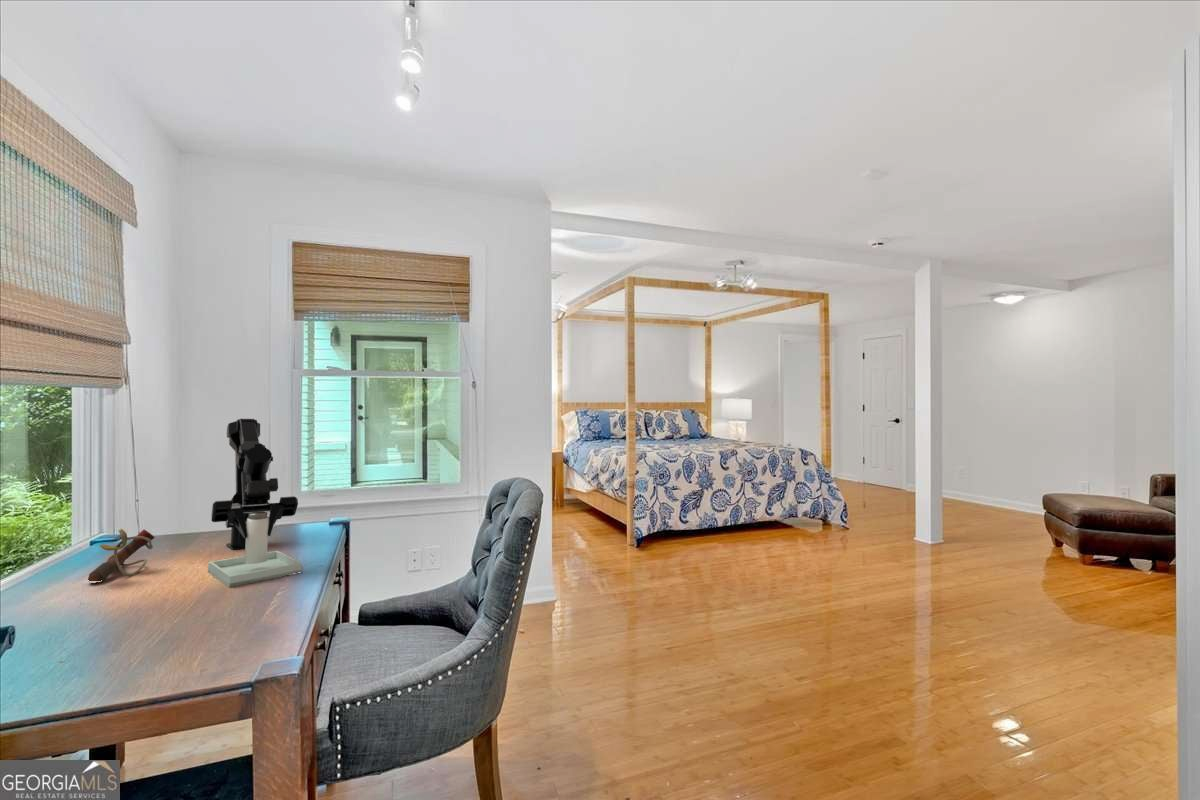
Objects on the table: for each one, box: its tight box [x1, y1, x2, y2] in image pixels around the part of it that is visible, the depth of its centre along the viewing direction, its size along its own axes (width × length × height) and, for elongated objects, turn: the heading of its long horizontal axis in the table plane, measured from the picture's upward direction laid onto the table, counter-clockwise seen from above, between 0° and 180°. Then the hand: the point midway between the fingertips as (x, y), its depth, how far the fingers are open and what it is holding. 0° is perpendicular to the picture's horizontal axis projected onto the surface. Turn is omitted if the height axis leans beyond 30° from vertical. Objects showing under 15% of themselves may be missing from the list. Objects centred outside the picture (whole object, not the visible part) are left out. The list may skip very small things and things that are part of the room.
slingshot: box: [87, 528, 155, 582], centre depth 131 cm, size 17×10×15 cm
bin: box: [207, 550, 303, 588], centre depth 138 cm, size 16×16×2 cm
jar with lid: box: [244, 511, 269, 564], centre depth 138 cm, size 5×5×12 cm
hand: (257, 536), depth 137 cm, fingers closed on jar with lid, 5 cm apart
